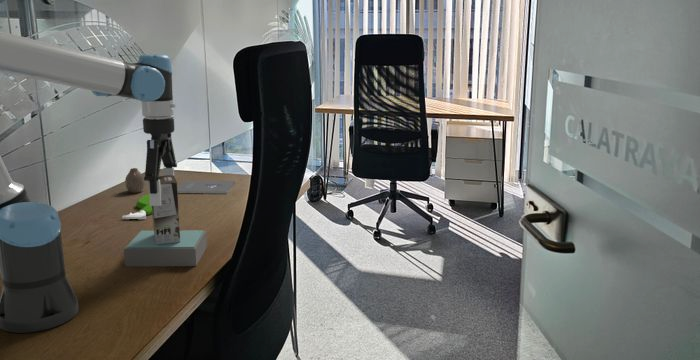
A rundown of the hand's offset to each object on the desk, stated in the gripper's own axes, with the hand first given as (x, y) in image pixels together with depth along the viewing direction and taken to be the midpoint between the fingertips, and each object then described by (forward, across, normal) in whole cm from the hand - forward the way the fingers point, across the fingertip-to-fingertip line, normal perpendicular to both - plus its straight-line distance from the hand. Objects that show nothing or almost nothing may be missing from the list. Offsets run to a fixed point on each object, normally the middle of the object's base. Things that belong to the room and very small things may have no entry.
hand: (162, 198), depth 154 cm
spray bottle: (+17, +44, +17) cm, 50 cm away
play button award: (+16, +72, +4) cm, 73 cm away
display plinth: (+16, 0, 0) cm, 16 cm away
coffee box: (+11, +1, 0) cm, 11 cm away
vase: (+16, +66, +29) cm, 74 cm away
